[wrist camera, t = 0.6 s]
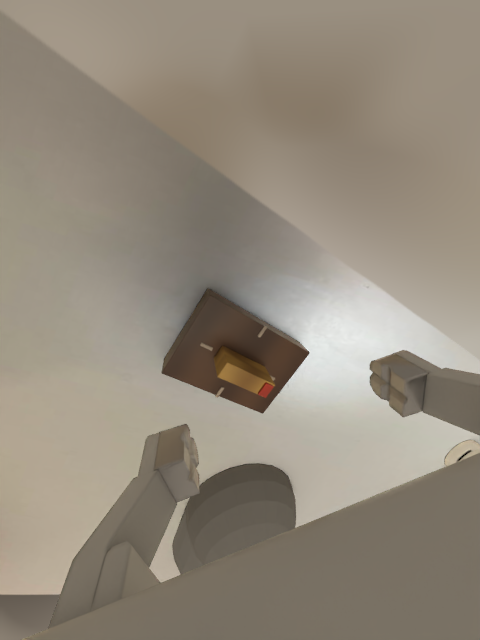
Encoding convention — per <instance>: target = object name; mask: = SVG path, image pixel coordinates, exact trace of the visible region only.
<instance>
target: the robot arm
mask: <svg viewBox="0 0 480 640" xmlns="http://www.w3.org/2000/svg"><path fill="white" fill-rule="evenodd" d="M370 370H371V371H372V372H373V373H372V375H371V376H370V385H371V387H372V389H373V391H374V392H375V393H376V395H378V396H379V397H380V398H381V399H384V400H387V401H389V406H390V407H391V408H393V409H394V410H395V411H396V412H397V413H399V414H400V415H401V416H402V417H406V416H409V415H412V414H415V413H418V412H421V411H423V412H424V413H426V414H429V415H431V416H433V417H436V418H438V419H441V420H443V421H446V422H448V423H451V424H453V425H455V426H458V427H460V428H463V429H465V430H468V431H470V432H473V433H475V434H477V435H480V374H475V373H469V372H464V371H459V370H453V369H448V368H444V369H441V368H439V367H437V366H435V365H433V364H431V363H429V362H427V361H426V360H424V359H422V358H420V357H418V356H416V355H414V354H412V353H410V352H408V351H405V350H402V351H399V352H396V353H393V354H391V355H388V356H385V357H382V358H379V359H377V360H374V361H371V363H370ZM198 464H199V460H198V452H197V447H196V444H195V441H194V439H193V438H192V437H190V429H189V427H188V425H187V424H184V425H181V426H177V427H174V428H171V429H168V430H164V431H161V432H159V433H156V434H152V435H149V436H148V437H147V439H146V441H145V446H144V450H143V455H142V460H141V464H140V469H139V473H138V477H136V478H133V480H132V481H131V482H130V484H129V485H128V486H127V488H126V489H125V490H124V492H123V493H122V495H121V496H120V497H119V499H118V500H117V501H116V503H115V504H114V505H113V507H112V508H111V509H110V511H109V512H108V513H107V515H106V516H105V517H104V519H103V520H102V521H101V523H100V524H99V525H98V527H97V528H96V529H95V531H94V532H93V533H92V535H91V536H90V537H89V539H88V540H87V541H86V543H85V544H84V546H83V547H82V548H81V550H80V551H79V552H78V554H77V555H76V556H75V558H74V559H73V561H72V564H71V567H70V569H69V572H68V575H67V578H66V580H65V583H64V586H63V589H62V591H61V594H60V597H59V600H58V603H57V605H56V608H55V611H54V613H53V616H52V619H51V622H50V625H49V627H48V629H47V630H44V631H42V632H39V633H37V634H34V635H32V636H30V637H27V638H25V639H22V640H480V453H478V454H476V455H473V456H471V457H468V458H466V459H463V460H461V461H458V462H456V463H453V464H451V465H449V466H446V467H444V468H441V469H439V470H436V471H434V472H431V473H429V474H426V475H424V476H422V477H419V478H417V479H414V480H412V481H409V482H407V483H404V484H402V485H399V486H397V487H395V488H392V489H390V490H387V491H385V492H382V493H380V494H377V495H375V496H372V497H370V498H368V499H365V500H363V501H360V502H358V503H355V504H353V505H350V506H348V507H346V508H343V509H341V510H338V511H336V512H333V513H331V514H329V515H326V516H324V517H321V518H319V519H316V520H314V521H311V522H309V523H307V524H304V525H302V526H299V527H297V528H294V529H292V530H289V531H287V532H284V533H282V534H280V535H277V536H275V537H272V538H270V539H267V540H265V541H262V542H260V543H258V544H255V545H253V546H250V547H248V548H245V549H243V550H240V551H238V552H236V553H233V554H231V555H228V556H226V557H223V558H221V559H218V560H216V561H213V562H211V563H209V564H206V565H204V566H201V567H199V568H196V569H194V570H191V571H189V572H187V573H184V574H182V575H179V576H177V577H174V578H172V579H169V580H167V581H165V582H162V583H160V582H159V580H158V579H157V578H156V576H155V575H154V574H153V573H152V571H151V570H150V569H149V567H150V564H151V562H152V560H153V558H154V555H155V553H156V551H157V549H158V546H159V544H160V542H161V539H162V537H163V535H164V533H165V530H166V528H167V526H168V524H169V521H170V519H171V517H172V514H173V512H174V510H175V508H176V505H177V502H179V501H182V500H184V499H187V498H189V497H192V496H194V495H197V494H199V493H200V486H199V474H198V471H197V469H196V468H197V466H198Z"/></svg>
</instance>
